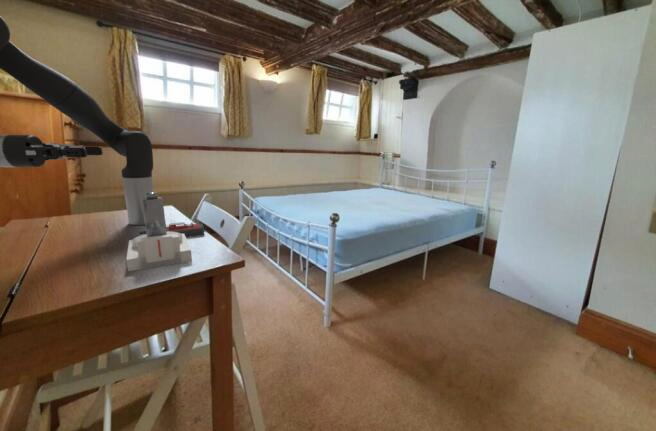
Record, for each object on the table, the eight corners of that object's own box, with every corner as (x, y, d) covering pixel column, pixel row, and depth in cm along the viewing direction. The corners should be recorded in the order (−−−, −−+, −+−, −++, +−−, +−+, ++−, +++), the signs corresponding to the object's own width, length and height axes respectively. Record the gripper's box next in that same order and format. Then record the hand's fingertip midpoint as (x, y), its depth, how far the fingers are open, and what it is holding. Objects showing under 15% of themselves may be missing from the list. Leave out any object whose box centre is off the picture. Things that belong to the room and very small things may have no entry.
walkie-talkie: (204, 228, 106) (139, 236, 97) (203, 217, 105) (138, 223, 95) (208, 235, 99) (138, 244, 89) (207, 223, 98) (136, 230, 88)
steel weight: (147, 236, 82) (141, 192, 79) (166, 234, 84) (161, 190, 81) (147, 241, 78) (140, 194, 75) (167, 239, 80) (162, 193, 77)
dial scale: (130, 250, 83) (127, 224, 81) (184, 242, 90) (182, 219, 89) (128, 272, 70) (123, 242, 68) (192, 261, 77) (189, 234, 75)
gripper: (-16, 134, 61) (77, 136, 66) (28, 134, 74) (103, 136, 79) (-7, 170, 63) (83, 169, 68) (35, 164, 76) (108, 164, 81)
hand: (94, 151), depth 73 cm, fingers open, 8 cm apart
